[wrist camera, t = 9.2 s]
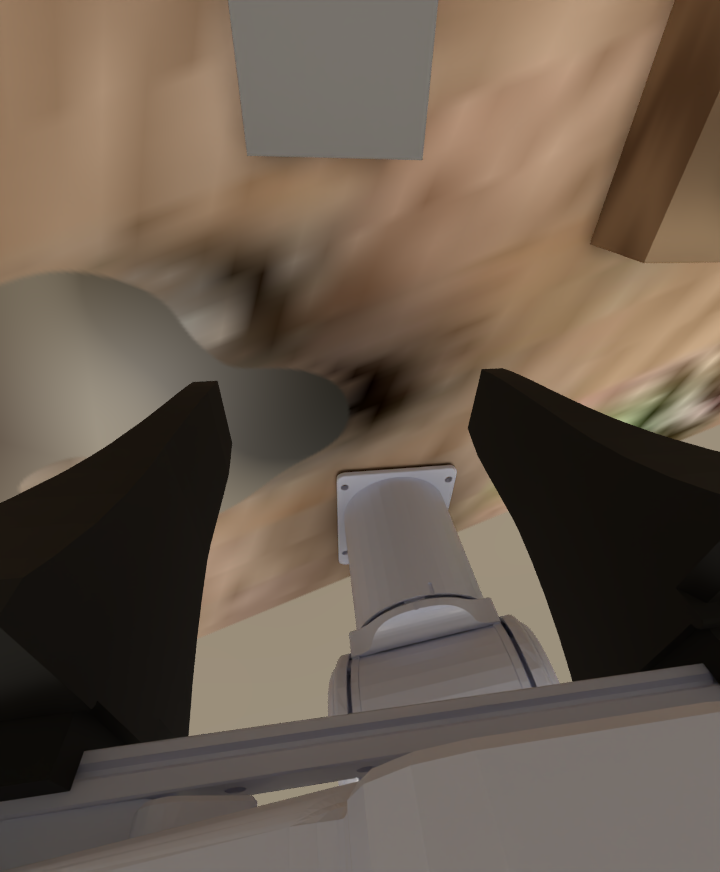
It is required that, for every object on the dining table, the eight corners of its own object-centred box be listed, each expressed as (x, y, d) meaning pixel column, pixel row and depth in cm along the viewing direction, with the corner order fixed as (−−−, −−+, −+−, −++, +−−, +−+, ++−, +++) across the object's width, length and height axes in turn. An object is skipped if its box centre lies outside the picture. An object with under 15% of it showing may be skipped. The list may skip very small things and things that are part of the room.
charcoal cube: (390, 155, 15) (422, 159, 11) (261, 151, 15) (247, 155, 11) (401, -40, 12) (451, -128, 8) (239, -55, 12) (208, -155, 8)
